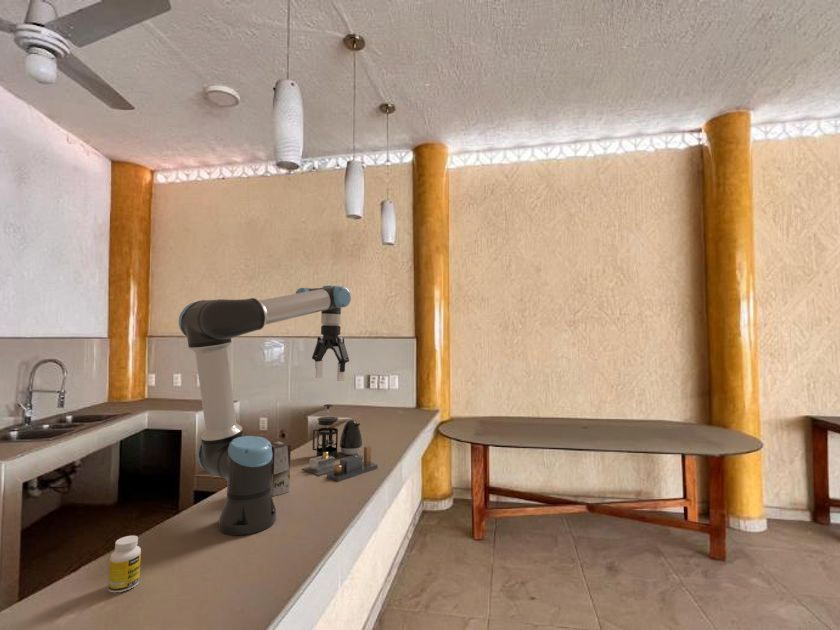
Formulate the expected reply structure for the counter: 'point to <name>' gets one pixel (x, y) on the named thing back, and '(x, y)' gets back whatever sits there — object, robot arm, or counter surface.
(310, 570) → the counter surface
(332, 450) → the french press
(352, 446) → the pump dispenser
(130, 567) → the supplement bottle
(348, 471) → the grey stand
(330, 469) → the mat
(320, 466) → the white box with knob
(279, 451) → the coffee box
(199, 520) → the counter surface
